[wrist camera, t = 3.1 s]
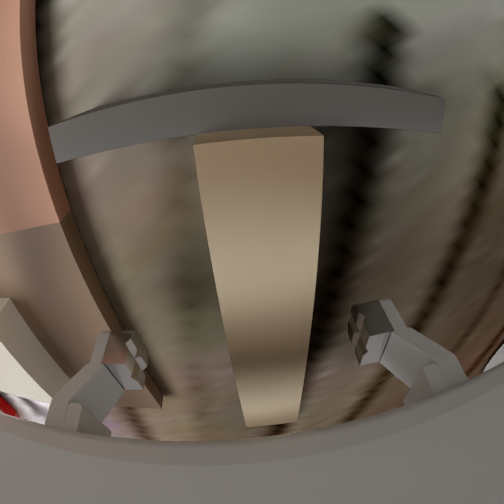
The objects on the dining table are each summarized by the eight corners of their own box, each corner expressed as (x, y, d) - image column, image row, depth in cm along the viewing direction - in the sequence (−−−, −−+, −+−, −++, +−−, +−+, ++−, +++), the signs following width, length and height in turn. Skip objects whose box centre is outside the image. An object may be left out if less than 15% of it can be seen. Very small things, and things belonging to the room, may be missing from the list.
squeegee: (348, 349, 16) (367, 407, 13) (177, 367, 16) (173, 428, 13) (391, 85, 8) (468, 106, 5) (94, 107, 8) (25, 137, 5)
